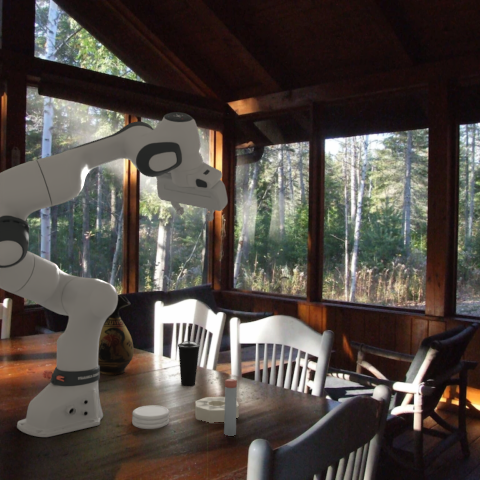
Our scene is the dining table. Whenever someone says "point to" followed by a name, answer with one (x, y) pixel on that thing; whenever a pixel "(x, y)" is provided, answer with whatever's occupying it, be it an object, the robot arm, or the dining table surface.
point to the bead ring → (212, 409)
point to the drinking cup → (188, 361)
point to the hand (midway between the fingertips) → (195, 216)
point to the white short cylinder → (150, 417)
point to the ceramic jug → (115, 343)
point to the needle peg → (230, 407)
